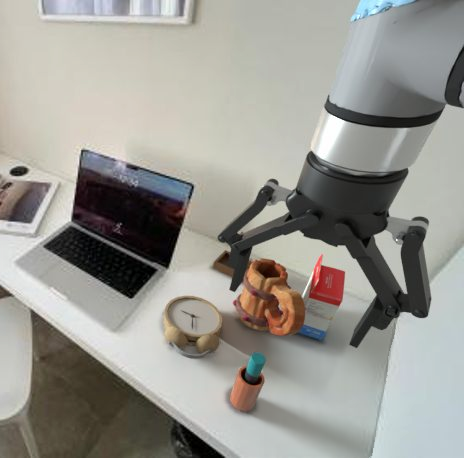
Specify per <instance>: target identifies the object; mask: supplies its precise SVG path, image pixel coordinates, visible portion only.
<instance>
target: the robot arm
mask: <svg viewBox="0 0 464 458" xmlns="http://www.w3.org/2000/svg"><path fill="white" fill-rule="evenodd" d="M349 22H350V23H351V24H350V26H349V31H348V34H347V37H346V40H345V44H344V47H343V50H342V54H341V55H340V60H339V63H338V65H337V69H336V71H335V74H334V77H333V81H332V84H331V88H330V90H329V93H328V95H327V97H326V101H325V103H324V104H323V106H322V109H321V112H320V115H319V118H318V121H317V124H316V127H315V129H314V132H313V135H312V138H311V142H310V146H309V147H310V151H309V152H308V153H307V154H306V157H305V160H304V163H303V165H302V169H301V171H300V174H299V176H298V180H297V183H296V186H295V188H294V189H289V188H287V187H283V186H281V185H280V182H279V181H278V179H276V178H269V179H268V180H266V182H265V183H264V184H263V186H262V187H261V188H260V189H259V191H258V192H257V195H256V197H255V199H254V200H253V201H252V202H250V204H249V205H248V206H247V207H245V208H244V209H243V210H242V211H241V212H240V213H239V214H238V215H237V216H236V217H234V218H233V220H231V221H230V222H229V223H228V224H227V225H225V227H224V228H223V229H222V231H221V232H220V233H219V234H218V235H217V237H216V238H217V241H218V242H220V243H222V244H225V243H226V244H227V245H228V246H229V247H230V251H229V252H230V256H229V260H228V266H229V267H231V268H233V269H235V270H234V273H233V277H231V280H230V281H231V282H230V284H229V285H230V286H229V289H228V290H229V291H230V292H233V293H236V291H238V288H239V287H240V286H241V284H242V283H243V282H242V281H243V279H244V275H245V272H246V268H247V265H248V262H249V261H250V258H251V254H252V250H253V247H255V246H258V245H261V244H263V243H265V242H268V241H270V240H273V239H275V238H278V237H280V236H287V235H291V234H293V233H296V232H298V231H299V232H300V233H301V234H303V235H302V237H305V238H307V239H311V240H317V241H321V242H323V243H325V244H327V245H329V246H332V247H335V248H338V247H339V246H341V247H345V248H346V250H347V252H348V253H349V255H350V257H351V258H352V259H353V260H356V262H357V263H358V265H359V267H360V269H361V270H362V272H363V274H364V276H365V277H366V279H367V280H368V282H369V284H370V286H371V288H372V290H373V291H374V293H375V294H376V295H375V296H374V298H373V299H372V301H371V303H369V306H368V307H367V308H366V311H365V312H364V313H363V315H362V317H361V318H360V320H359V321H358V323H357V324H356V326H355V327H354V329H353V332H352V335H351V337H350V340H349V343H348V346H351V347H353V348H355V349H357V348H359V346H360V345H361V343H362V341H363V340H364V339H365V337H366V335H367V334H368V333H369V331H370V330H371V328H374V329H377V330H380V331H385V330H386V329H388V327H389V325H390V324H391V323H392V322H393V321H394V319H397V318H399V317H400V314H401V313H407V314H411V315H412V316H413V317H415V318H418V319H427V318H428V317H429V314H430V309H431V305H432V300H433V299H432V293H431V286H430V279H429V274H428V266H427V259H426V253H425V247H424V241H425V239H426V236H427V233H428V229H429V226H430V221H429V219H428V218H427V217H425V216H422V215H421V216H414V217H412V218H411V219H405V218H401V217H395V216H390V208H391V207H392V204H393V202H394V200H395V199H396V197H397V195H398V194H399V191H400V190H401V188H402V186H403V184H404V183H405V180H406V179H407V177H408V175H409V168H410V167H412V166H413V165H414V164H415V163H416V161H417V159H418V157H419V155H420V154H421V152H422V150H423V148H424V146H425V144H426V143H427V141H428V139H429V137H430V135H431V134H432V131H433V130H434V129H435V127H436V125H437V123H438V121H439V120H440V117H441V115H442V114H443V112H444V110H445V109H446V105H449V106H451V107H456V108H460V109H464V0H359V2H358V5H357V8H356V10H355V13H354V14H352V16H351V18H350V21H349ZM280 202H285V206H286V209H287V211H288V212H286V213H285V214H283V215H281V216H279V217H277V218H275V219H272V220H270V221H268V222H265V223H263V224H261V225H259V226H256V227H254V228H251V229H250V230H247V231H245V232H243V231H241V230H242V229H243V228H244V227H246V226H247V224H249V223H250V222H251V221H252V220H254V219H255V218H256V217H257V216H258V215H260V213H262V211H263V210H265V208H266V207H267V206H268V207H271V206H275V205H277V204H278V203H280ZM240 231H241V232H240ZM385 231H387V232H389V233H391V237H392V240H393V241H394V242H395V244H396V245H400V246H401V247H400V259H401V261H400V262H401V266H402V272H403V278H404V282H405V288H406V293H405V292H404V290H403V288H402V287H401V285H400V283H399V282H398V280H397V278H396V276H395V274H394V273H393V271H392V270H391V267H390V266H389V264H388V263H387V261H386V259H385V257H384V255H383V254H382V252H381V250H380V249H379V247H378V245H377V242H376V237H375V236H376V235H379V234H381V233H383V232H385ZM238 232H240V233H238Z"/></svg>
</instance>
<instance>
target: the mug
mask: <svg viewBox="0 0 464 458" xmlns="http://www.w3.org/2000/svg"><path fill="white" fill-rule="evenodd" d="M288 278H289V274H288V272H287V268H286V267H285V266H284V265H282V264H281V263H277V262H276V261H275V260H274V259H270V258H261V257H260V258H259V259H254V260H253V261H252V264H251V266H250V268H249V269H248V270H247V271H246V272H245V275H244V279H243V281H242V283H243V288H242V291H241V293H240V294H239V295H238V296H237V297H236V299H235V300H233V301H232V304H233V306H234V307H235V311H236V312H237V314H238V318H239V320H240V321H241V323H243V324H244V325H245V326H247V327H248V328H250V329H253V330H255V331H259V332H264V331H268V330H269V331H270V333H271V334H273V335H275V336H279V337H283V336H290V335H296V334H297V333H298V331H299V330H300V329H301V328H302V326H303V325H304V320H305V306H304V300H303V298H302V294H301V293H300V292H299V291H298V290H295V289H292V287H291V286H290V284H289V283H288Z"/></svg>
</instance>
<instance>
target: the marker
mask: <svg viewBox="0 0 464 458" xmlns="http://www.w3.org/2000/svg"><path fill="white" fill-rule="evenodd" d="M266 362H267V358H266V357H265V355H264V354H262V353H260V352H258V351H257V352H253V353H251V355H250V358H249V361H248V363H247V365H246V366H247V371H246V373H245V376H244V379H243V380H244V381H245V382H246V383H248V384H250V385H253V386H255V384H256V381H257V379H258V377H259V375H260V374H261V373H262V371H263V369H264V367H265V364H266Z"/></svg>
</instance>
